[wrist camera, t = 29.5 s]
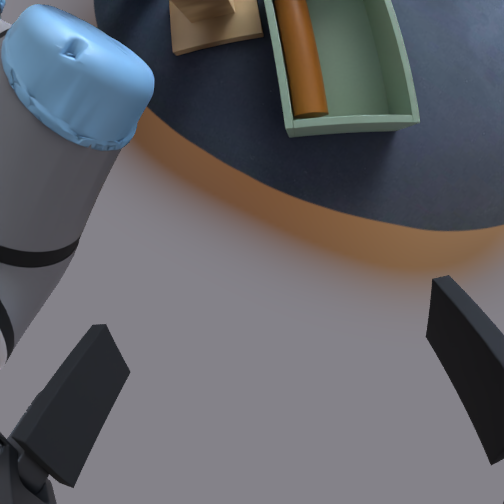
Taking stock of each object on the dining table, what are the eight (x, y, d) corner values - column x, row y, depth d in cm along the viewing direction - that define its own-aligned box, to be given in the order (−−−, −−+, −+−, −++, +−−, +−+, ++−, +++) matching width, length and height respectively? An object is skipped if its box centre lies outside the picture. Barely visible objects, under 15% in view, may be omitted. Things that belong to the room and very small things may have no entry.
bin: (289, 137, 36) (285, 129, 27) (264, -11, 30) (254, -45, 22) (395, 131, 33) (420, 122, 25) (361, -16, 27) (370, -49, 19)
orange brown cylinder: (313, 118, 34) (286, 118, 33) (289, -6, 30) (264, -12, 28) (335, 113, 31) (308, 111, 29) (307, -18, 26) (281, -26, 24)
